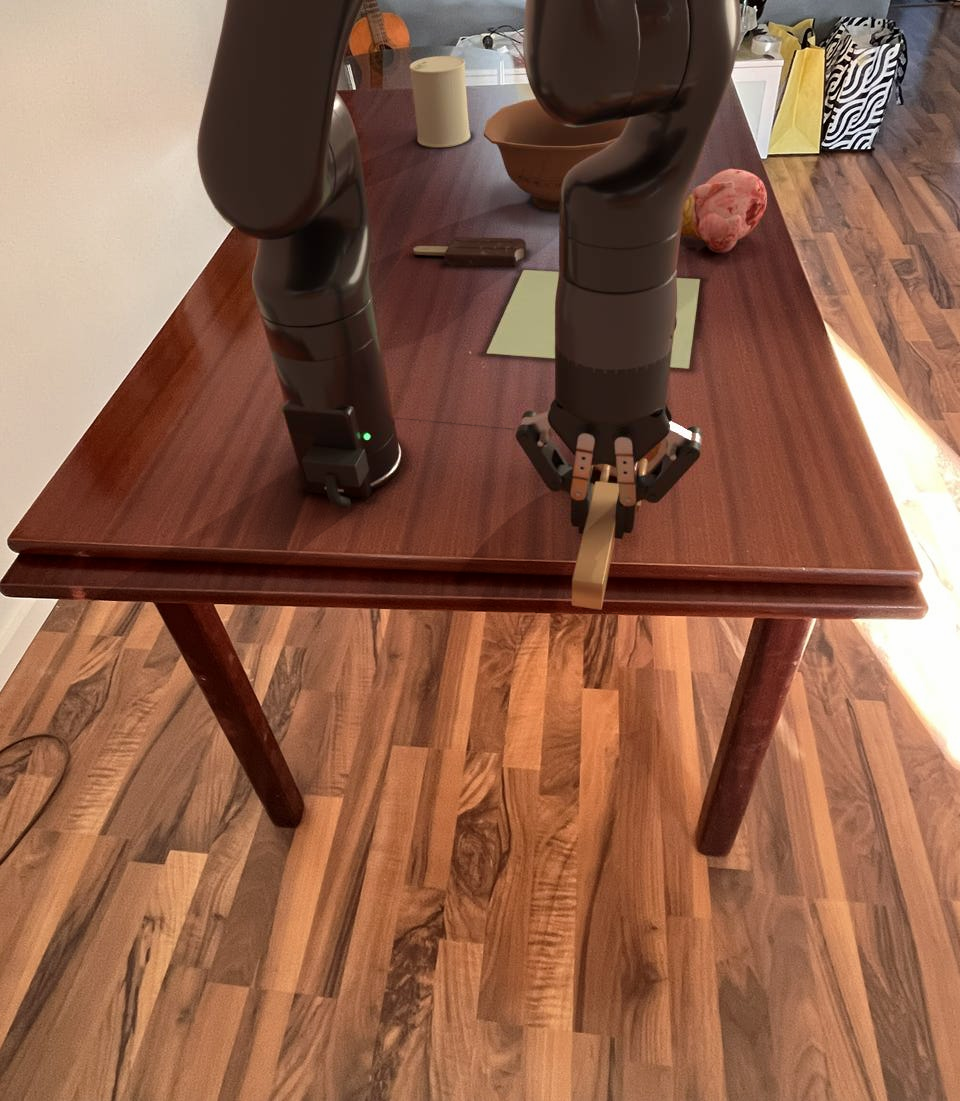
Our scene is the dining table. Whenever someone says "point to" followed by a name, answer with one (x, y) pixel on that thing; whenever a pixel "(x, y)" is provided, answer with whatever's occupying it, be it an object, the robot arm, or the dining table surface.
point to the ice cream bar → (478, 251)
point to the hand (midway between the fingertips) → (602, 528)
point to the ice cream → (724, 209)
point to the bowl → (544, 148)
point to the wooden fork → (598, 542)
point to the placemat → (534, 319)
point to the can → (440, 101)
